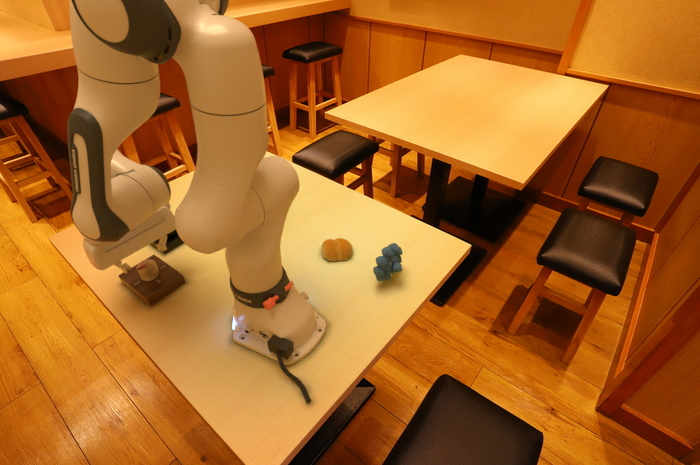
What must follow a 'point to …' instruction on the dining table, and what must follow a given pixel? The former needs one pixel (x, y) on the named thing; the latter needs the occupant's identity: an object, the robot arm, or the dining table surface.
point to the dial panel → (153, 282)
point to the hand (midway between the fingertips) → (145, 260)
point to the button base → (170, 242)
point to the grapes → (388, 262)
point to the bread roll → (336, 249)
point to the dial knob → (148, 270)
